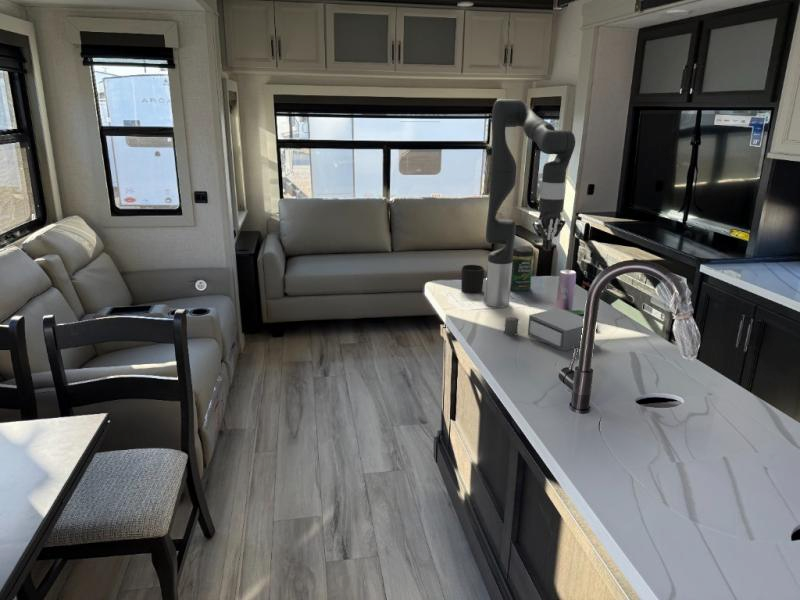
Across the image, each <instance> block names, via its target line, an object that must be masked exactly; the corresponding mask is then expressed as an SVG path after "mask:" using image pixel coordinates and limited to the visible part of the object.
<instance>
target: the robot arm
mask: <svg viewBox="0 0 800 600" xmlns="http://www.w3.org/2000/svg"><path fill="white" fill-rule="evenodd" d="M491 112H492V113H491V136H492V137H491V138H492V139H491V141H492V143H491V162H490V173H489V199H488V210H487V218H486V219H487V220H486V225H485V226H486V227H485V240H486V242H487V243H488V244H497V245H504V246H503V247H502V248H500V249H497V250H493V251H490V252H489V253H488V255H487V269H486V270H487V271H486V277H485V279H484V289H483V290H484V292H483V302H484V303H485V304H486V305H487V306H489V307H493V308H506V307H508V306H509V305H510V297H511V289H510V287H511V274H512V261H513V247H514V246H515V238H516V231H517V229H516V228H517V226H516V225H517V224H516V222H515V220H513V219H506V218H505V219H504V218H497V214H498V211H500V209H501V208H500V207H501V206H502V204H503V203H504V201H505V200H506V198H507V197H508V196H509V195H510V194H511V192H512V190H513V189H514V188H515V185H516V181H517V179H516V178H517V162H516V160H515V157H514V156H513V154H512V151H511V150H510V148H509V146H508V143H507V139H506V128H516V127H521V128H523V132H524V134H525V136H526V137H527V138H528V139H530V140H531V141H533V142H534V143H536V145H537V147H538V148H539V150H540V152H542V153H543V154H546V155H556V156H555V159H554V160H552V161H548V162H545V163H544V165H543V166H542V167H543V168H542V178H541V184H540V189H539V190H540V191H539V199H538V200H539V201H538V211H539V216H538V220H537V221H536V222H533V223H532V227H533V228H534V229H533V230H534V232H535V234H537V237H539V238H541V239H542V243H541V245H542V246H541V247H542V248H541V249H542V250H543V251H545V252H548V251H551V250H552V245H553V240H554V239H555V238H556V237H558V236H559V235H560V233H561V231H562V230H563V228H564V227H565V225H566V220H563V219H562V215H561V213H562V212H564V205H565V197H566V196H565V195H566V180H567V179H566V178H567V169H568V167H569V164H570V161H571V159H572V156H573V153H574V150H575V147H576V137H575V134H574V132H572V131H571V130H567V129H565V130H564V129H563V130H562V129H561V130H558V129H557V130H556V128H555V127H554V126H553V125H552V124H551V123H550V122H548V121H546V120H544V119H543V118H541V117H540V116H538V115H537V113H535V112H534V111H533V110H532V109H531V107H530V106H529V105H528V104H527V103H526V102H524V101H523V100H521V99H517V98H516V99H515V98H504V99H503V98H502V99H501V98H500V99H497V100H495V102H494V103H493V107H492V110H491Z"/></svg>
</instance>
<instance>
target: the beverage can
mask: <svg viewBox="0 0 800 600" xmlns="http://www.w3.org/2000/svg"><path fill="white" fill-rule="evenodd" d="M576 279H577V272H576V271H575V270H572V269H561V270H559V276H558V285H557V292H556V293H557V294H556V295H557V296H556V302H555V309H556V308H561V309H563V310H573V304H574V298H575V297H574V296H575V295H574V294H575V288H576V281H577V280H576Z"/></svg>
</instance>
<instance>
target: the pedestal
mask: <svg viewBox="0 0 800 600" xmlns="http://www.w3.org/2000/svg"><path fill="white" fill-rule="evenodd" d="M504 320H505V321H504V330H503V332H504V334H505V335H507V334H508V336H516V335H518V331H519V330H518V328H519V318H517V317H516V316H507V317H505V319H504Z"/></svg>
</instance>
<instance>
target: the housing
mask: <svg viewBox="0 0 800 600" xmlns="http://www.w3.org/2000/svg"><path fill="white" fill-rule="evenodd" d="M583 318H584V317H581V316H579V315H576V314H573V313H571V312H568V311H566V310H563V309H561V308H556V307H555V308H551V309H549V310H548V309H547V310H545V311H541V312H537V313H536V312H535V313H532V314H529V316H528V325H527V327H528V328H527V335H529V336H530V337H533V338H535V339H537V340H539V341H541V342H544V343H545V344H548V345H550V346H552V347H554V348H557V349H559V350H561V351H563V352H565V351H569V350H572V348H573V347H576V348H578V346H579V347H581V346H580V341H581V335H582V328H583ZM532 320H533V321H536V322H538V323H540V324H543V325H544V324H545V325H547V326H550V327H552V328H554V329H557V330H559V331H561V332H564V333H563V341H562V346H558V345H556V344H554V343H551V342H549V341H547V340H545V339H543V338H540V337H538V336H536V335H534V334H532V333H530V323H531V321H532ZM573 349H574V348H573Z"/></svg>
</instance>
